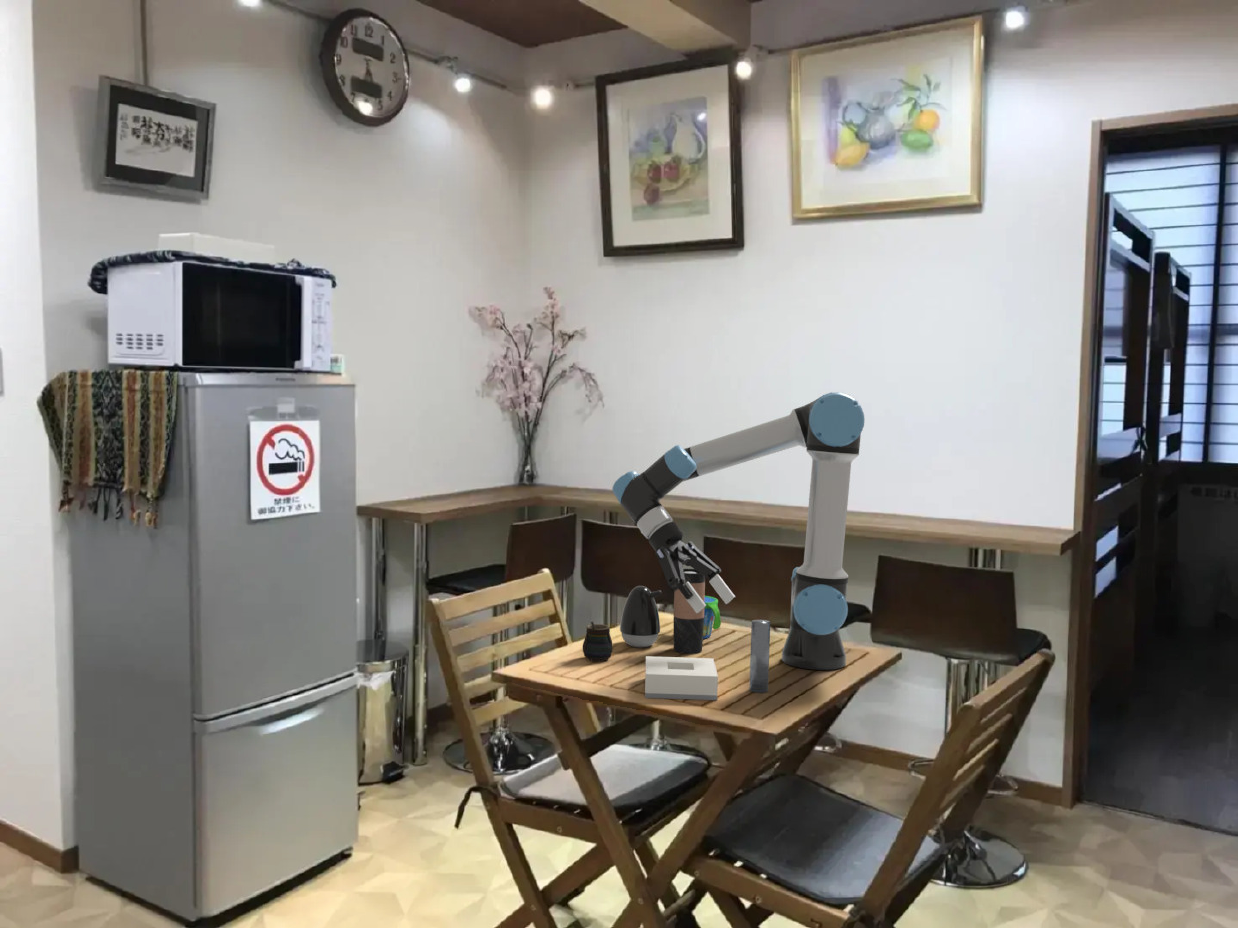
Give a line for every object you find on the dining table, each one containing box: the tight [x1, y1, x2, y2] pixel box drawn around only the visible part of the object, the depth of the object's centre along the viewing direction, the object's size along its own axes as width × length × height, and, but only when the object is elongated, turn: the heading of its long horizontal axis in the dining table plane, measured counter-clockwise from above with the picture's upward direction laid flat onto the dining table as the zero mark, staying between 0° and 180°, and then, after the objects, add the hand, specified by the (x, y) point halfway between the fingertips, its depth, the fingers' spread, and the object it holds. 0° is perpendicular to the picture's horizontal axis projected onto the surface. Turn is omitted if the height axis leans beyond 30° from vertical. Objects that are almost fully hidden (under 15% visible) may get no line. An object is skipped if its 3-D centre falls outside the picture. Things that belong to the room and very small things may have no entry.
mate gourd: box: [582, 621, 614, 662], centre depth 239 cm, size 7×8×10 cm
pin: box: [748, 619, 771, 694], centre depth 216 cm, size 4×4×15 cm
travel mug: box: [673, 568, 706, 655], centre depth 250 cm, size 8×8×20 cm
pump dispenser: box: [619, 585, 662, 648], centre depth 254 cm, size 10×10×15 cm
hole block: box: [644, 655, 719, 701], centre depth 215 cm, size 15×15×5 cm
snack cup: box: [703, 595, 722, 640], centre depth 266 cm, size 16×10×10 cm
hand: (716, 604), depth 221 cm, fingers open, 13 cm apart
